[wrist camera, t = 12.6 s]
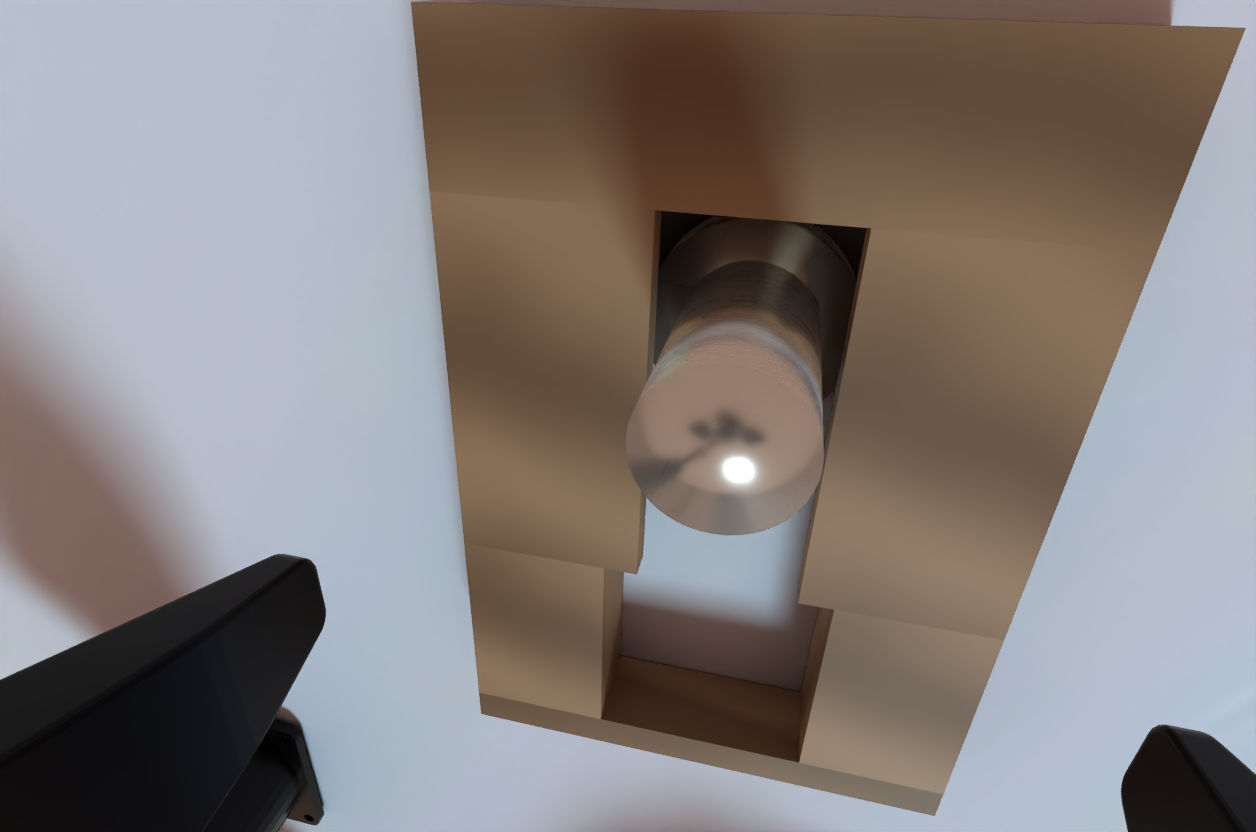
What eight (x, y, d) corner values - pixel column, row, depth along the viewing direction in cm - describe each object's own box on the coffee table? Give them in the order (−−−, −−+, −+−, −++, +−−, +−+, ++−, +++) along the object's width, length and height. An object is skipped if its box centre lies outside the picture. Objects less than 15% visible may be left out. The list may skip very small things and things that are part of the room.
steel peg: (839, 413, 18) (852, 599, 12) (649, 388, 19) (574, 550, 13) (878, 217, 16) (918, 327, 10) (658, 199, 17) (572, 290, 11)
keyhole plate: (922, 739, 23) (934, 815, 20) (510, 653, 25) (481, 713, 23) (1172, 29, 13) (1245, 28, 11) (468, 6, 16) (410, 1, 13)
